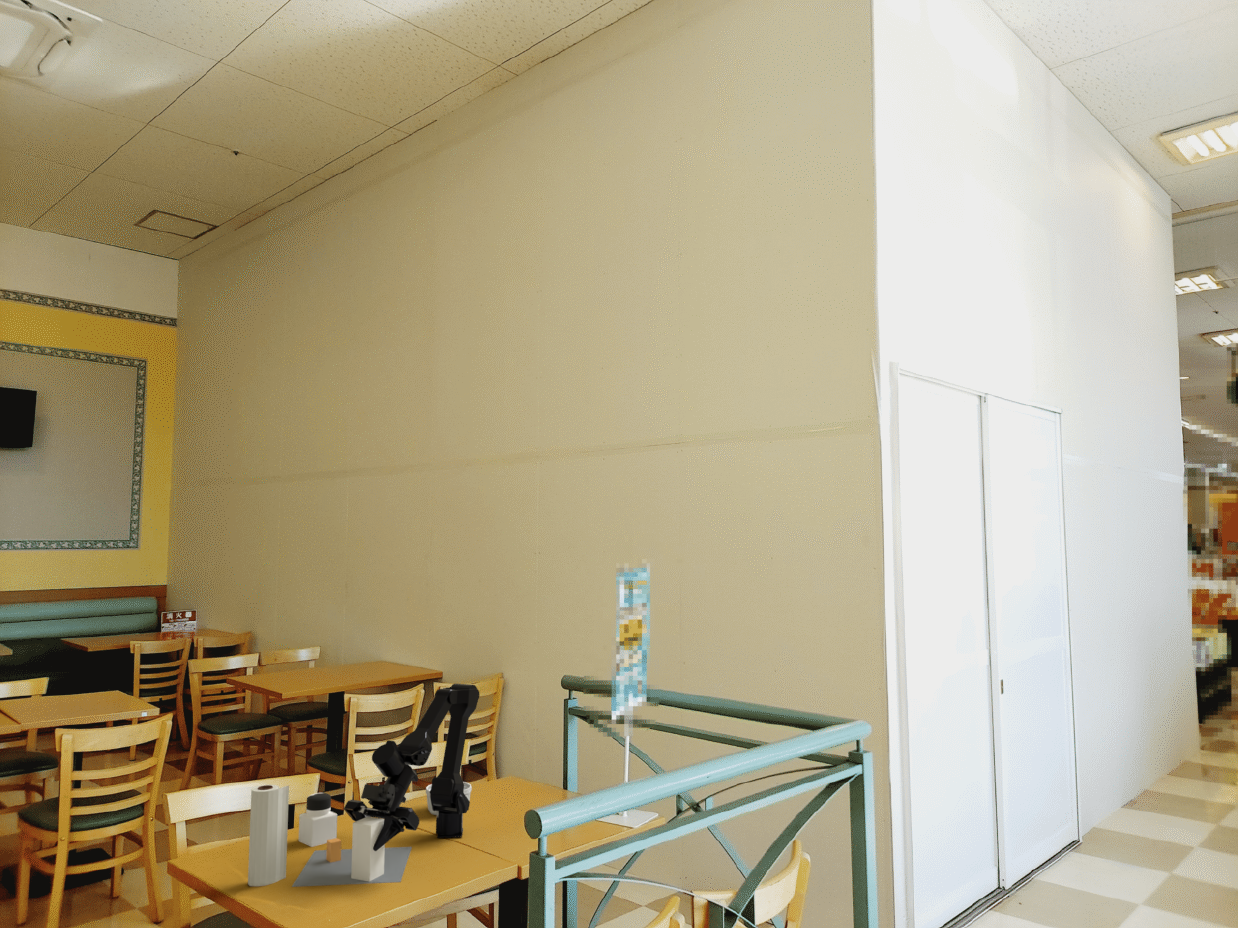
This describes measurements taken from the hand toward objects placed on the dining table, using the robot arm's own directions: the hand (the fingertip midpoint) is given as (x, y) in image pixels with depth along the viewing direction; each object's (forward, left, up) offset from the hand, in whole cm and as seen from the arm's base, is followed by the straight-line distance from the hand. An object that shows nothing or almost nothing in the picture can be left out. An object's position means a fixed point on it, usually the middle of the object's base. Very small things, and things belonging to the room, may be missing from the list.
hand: (364, 848), depth 206 cm
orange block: (+9, -13, -7) cm, 17 cm away
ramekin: (-16, -53, -7) cm, 55 cm away
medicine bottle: (+16, -29, -7) cm, 34 cm away
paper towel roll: (+22, -1, -7) cm, 23 cm away
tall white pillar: (-1, -1, -7) cm, 7 cm away
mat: (+3, -9, -7) cm, 12 cm away
